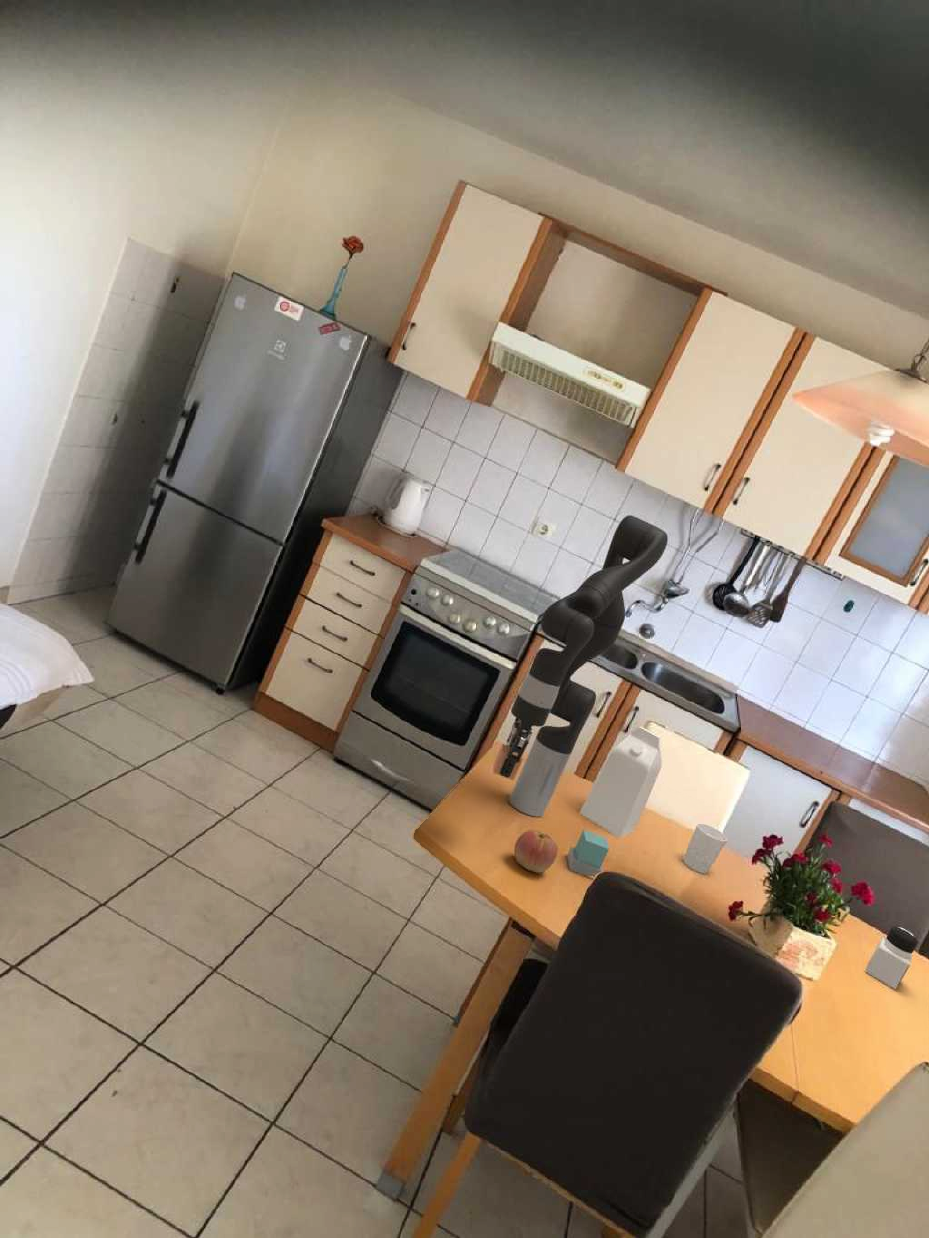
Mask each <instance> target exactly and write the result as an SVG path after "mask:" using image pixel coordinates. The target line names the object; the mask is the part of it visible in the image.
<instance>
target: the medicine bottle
mask: <svg viewBox="0 0 929 1238" xmlns="http://www.w3.org/2000/svg"><path fill="white" fill-rule="evenodd" d="M877 944H878V945H877V946H876V947H875V950H874V952H873V954H872V955H871V957H870V959H869V960H868V962H867V966H866V968H865V973H866V974H868V975H870V976H871V977H873V978H874V979H875V980H878V981H879V982H881V983H883V984H884V985H885V986H888V987H890V988H891V989H893V990H895V991H896V990H897V989H898V987H899V986H900V984H901V982H902V980H903V979H904V978H905V977H904V976H905V975H906V974H907V971H908V969H909V967H911V966H910V965H911V962H912V958H913V953H914V951H915V949H916V947H917V945H918V944H919V941H918V939H917V937H915V935H914V934H913V933H912V932H911V931H909V930H907V929H905V928H903V927H901V926H900V927H898V926H891V928H890V930H889V931H888V934H887V935H886V937H885V938H884V937H882V938H881V939H880V941H879V943H877Z"/></svg>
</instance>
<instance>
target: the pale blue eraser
mask: <svg viewBox="0 0 929 1238" xmlns="http://www.w3.org/2000/svg"><path fill="white" fill-rule="evenodd" d="M575 847H576V846H572V845H571V846H570V847H569V850H568V853H567V855H566V858H567V859H566V860H567V864H568V865H567V866H568V870H569V871H571V872H573V871H575V872H574V873H576V872H577V873H576V874H579V873H580V874H579V875H581V874H583V875H582V876H584V875H586V876H590V877H591V876H593V877H595V875H596V874H597V873H599V872H601V871H603V872H604V869H603V864H602V865H601V867H600V869H599V868H596V867H593V866H591V865H588V864H586V863H583V862H581V861H578V860H576V854H575ZM586 876H585V877H586Z"/></svg>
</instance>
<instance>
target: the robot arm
mask: <svg viewBox="0 0 929 1238" xmlns="http://www.w3.org/2000/svg"><path fill="white" fill-rule="evenodd" d="M668 536H669V535H668V534H667V532H666V531H664V530H663V529H662V528H660V527H658V526H656V525H654V524H653V523H649V522H647V521H645V520H643V519H641V518H638V517H636V516H634V515H630V514H629V515H626V516H624V517H623V519H621V521H620V522H619V524H618V526H617V527H616V529H615V531H614V534H613V536H612V539H611V541H610V545H609V548H608V550H607V553H606V556H605V559H604V562H603V566H602V568H601V569H600V570H598V571H595V572H594V573H592V574H591V575H589V576H588V577H587V578H586V579H585V581H584V582H583V583H582V584H580V586H579V587H578V588H577V589H576V590H575V591H573V592H572V593H570V594H568V595H566V596H565V597H563V598H560V599H558V600H557V601H555V602H553V603H552V604H550V606H548V608H547V609H546V610H545V611H544V613H543V614H542V616H541V619H540V628H541V630H542V632H543V633H544V634H545V635H546V636H548V637H549V638H552V639H554V640H556V641H558V642H560V643H561V644H564V645H565V646H564V648H563V649H562V650H555V649H552V648H549V647H547V648H546V647H542V648H540V649H538V651H537V652H536V654H535V655H534V656H535V657H534V659H533V661H532V664H531V666H530V668H529V670H528V672H527V675H526V676H525V678H524V680H523V682H522V683H521V686H520V688H519V690H518V692H517V695H516V698H515V699H514V701H513V704H512V707H511V709H510V712H511V714H512V715H513V717H515V719H514V722H513V723H512V726H511V730H510V732H509V734H508V737H507V739H506V744H505V745H506V746H508V747H509V750H508V753H507V754H506V759H505V761H504V763H503V765H502V768H501V770H500V775H502V776H501V777H503V776H504V777H503V778H506V777H507V778H506V779H508V777H510V775H511V773H512V770H513V768H514V766H515V763H518V762H519V761H520V758H521V756H522V755H523V754H524V752H525V750H526V748H527V746H528V745H529V743H530V740H531V737H532V736H533V732H532V730H533V728H532V727H539V729H538V732H537V734H536V737H535V739H534V740H533V743H532V745H531V748H530V750H529V752H528V755H527V757H526V759H525V761H524V763H523V765H522V768H521V770H520V772H519V774H518V777H517V779H516V782H515V784H514V786H513V788H512V790H511V793H510V795H509V797H508V801H509V803H510V805H511V806H512V807H514V808H515V809H517V810H518V811H520V812H521V813H523V814H526V815H529V816H532V817H537V818H539V817H543V816H544V814H545V812H546V809H547V808H548V807H549V806H548V805H549V804H550V801H551V799H552V798H553V794H554V792H555V790H556V788H557V785H558V784H559V782H560V779H561V777H562V775H563V772H564V771H565V768H566V766H567V764H568V761H569V760H570V757H571V755H572V752H573V751H574V748H575V745H576V743H577V741H578V738H579V736H580V734H581V732H582V730H583V729H584V726H585V725H586V723H587V720H588V719H589V717H590V715H591V713H592V711H593V709H594V706H595V704H596V702H597V701H596V700H597V694H596V692H595V690H592V689H590V688H589V687H587V686H584V685H582V684H580V683H578V682H575V681H573V680H572V679H571V677H572V676H573V675H574V674H575V672H577V671H578V670H579V669H581V668H582V667H583V666H584V665H586V664H587V663H589V662H590V661H591V660H593V659H594V658H596V657H598V656H600V655H602V654H603V653H605V652H606V651H608V650H609V649H610V648H611V647H613V645H614V644H616V641H617V639H618V636H619V634H620V632H621V629H622V627H623V625H624V622H625V619H626V605H625V600H624V594H623V591H624V590H625V589H627V587H629V586H630V585H632V584H633V583H635V582H636V581H637V580H638V579H640V578H641V577H643V575H644V574H646V573H647V572H648V571H650V570H651V569H652V568H653V567H654V566H655V565H657V563H658V562H659V560H660V559H661V558H662V556H663V555H664V553H665V550H666V548H667V545H668V541H669V540H668V538H669V537H668ZM624 559H625V560H627V562H624ZM623 562H624V563H623ZM550 714H551V715H553V716H554V717H558V718H559V719H562V720H563V721H565V722H568V723H569V724H568V725H565V726H553V725H545V724H546V722H547V720H548V718H549V715H550ZM513 752H516V753H517V756H515V755H513V754H512V753H513ZM500 775H499V776H500Z"/></svg>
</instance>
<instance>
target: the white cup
mask: <svg viewBox="0 0 929 1238" xmlns="http://www.w3.org/2000/svg"><path fill="white" fill-rule="evenodd" d="M727 841H728V838H727V835H725V834H724V833H723V832H721V831H720V830H719V829H718V828H715V827H714V826H711V825H709V824H707V823H702V822H700V823H697V824H696V826H695V829H694V831H693V834H692V836H691V838H690V841H689V843H688V846H687V848H686V852H685V853H684V856H683V858H682V861H683V863H684V864H685V866H687V867H688V868H689V869H691V870H693V871H694V872H697V873H700V874H705V875H706V874H708V873H709V872H710V870H711V869H712V866H713V865H714V863H715V862H716V860H717V858H718V857H719V856H720V854H721V852H722V850H723V848H724V846H725V845H726V843H727Z"/></svg>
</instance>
